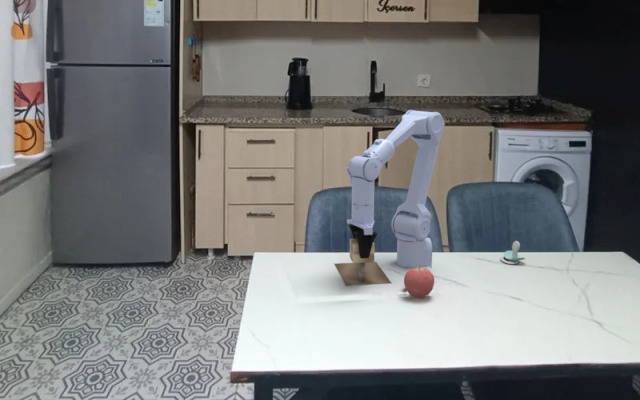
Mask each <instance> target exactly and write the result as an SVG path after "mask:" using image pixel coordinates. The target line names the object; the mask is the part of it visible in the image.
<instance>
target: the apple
mask: <svg viewBox="0 0 640 400" xmlns="http://www.w3.org/2000/svg"><path fill="white" fill-rule="evenodd" d="M403 278H404V279H403V284H404V287H405V290H406V291H407V293H408V294H409V295H411V297H414V298H418V299H421V298H425V297H427V296H428V295H430V294H431V292H432V291H433V289H434V284H435V276H434V274H433V272H431V271H430V270H429V269H428V268H425V267H416V268H409V269H408V270H407V271H406V272H405V274H404V277H403Z"/></svg>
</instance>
